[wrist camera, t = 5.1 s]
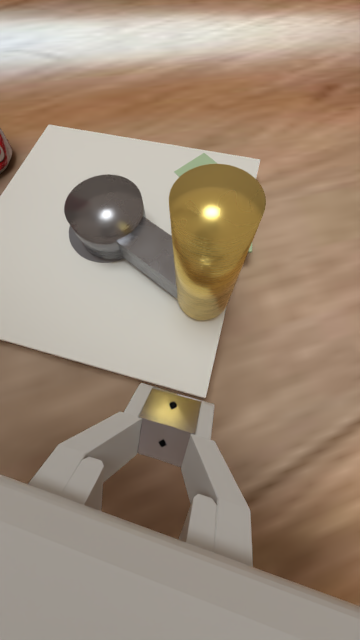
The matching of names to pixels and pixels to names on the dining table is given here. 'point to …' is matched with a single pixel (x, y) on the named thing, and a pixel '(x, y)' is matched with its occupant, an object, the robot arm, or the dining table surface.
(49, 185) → the pointer dial board
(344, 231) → the dining table surface
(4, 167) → the soda can
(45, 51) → the dining table surface
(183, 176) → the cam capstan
